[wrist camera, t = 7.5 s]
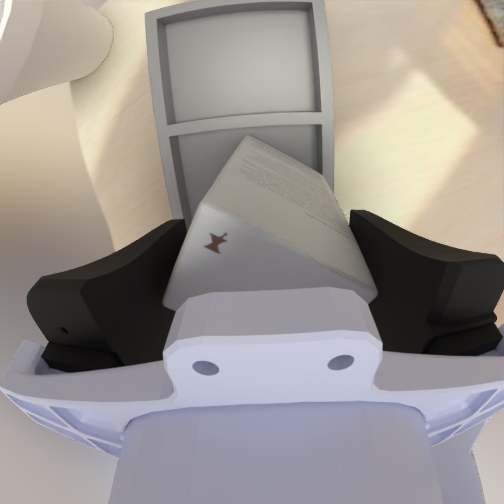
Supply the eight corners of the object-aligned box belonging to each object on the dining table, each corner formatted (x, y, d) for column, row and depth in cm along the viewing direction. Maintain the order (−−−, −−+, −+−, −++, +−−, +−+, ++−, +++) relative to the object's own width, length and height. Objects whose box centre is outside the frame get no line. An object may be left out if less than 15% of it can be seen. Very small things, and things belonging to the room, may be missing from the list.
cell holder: (318, 302, 28) (322, 323, 25) (206, 307, 28) (201, 328, 26) (314, 6, 14) (323, -7, 11) (159, 21, 14) (144, 13, 12)
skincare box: (219, 186, 19) (153, 305, 9) (247, 132, 17) (197, 195, 7) (295, 224, 20) (307, 366, 10) (327, 176, 18) (385, 292, 8)
